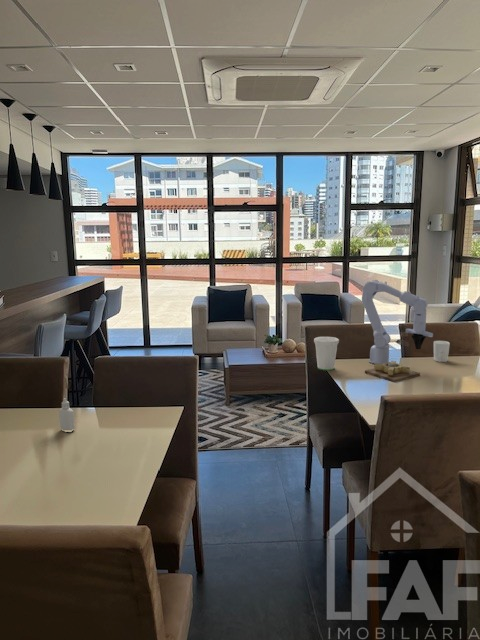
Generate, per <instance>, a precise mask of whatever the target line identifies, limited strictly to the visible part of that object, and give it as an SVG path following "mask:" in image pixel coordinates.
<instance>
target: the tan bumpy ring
mask: <svg viewBox="0 0 480 640" xmlns="http://www.w3.org/2000/svg"><path fill="white" fill-rule="evenodd" d="M390 362H391V363H390ZM388 364H396V365H397V367H389V366H388ZM374 368H375V370H382V371H383V372H386V373H388V375H392V376H393V374H398V373H402V372H403V373H409V372H410V371H411V366H410V365H403V364H401V363H397V361H396V360H395V361H394V360H391V361H389V363H383V364H381V363H375V364H374Z"/></svg>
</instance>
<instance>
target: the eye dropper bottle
mask: <svg viewBox="0 0 480 640" xmlns="http://www.w3.org/2000/svg"><path fill="white" fill-rule="evenodd" d="M58 419H59V421H58V422H59V428H61V429H63V430H72V429H75V430H76V425H75V415H74V410H73V409H72V408H70V402H69V401H68V400H67V398H66V397H64V398H63V401H62V402H61V408H60V409H59V410H58Z"/></svg>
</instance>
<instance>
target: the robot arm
mask: <svg viewBox="0 0 480 640" xmlns="http://www.w3.org/2000/svg"><path fill="white" fill-rule="evenodd" d="M384 292H385V293H387V294H389V295H391V296H394V297H396V298H398V299H399V302H401V303H402V304H406V305H407V306H410V307H413V309H414V312H413V326H412V327H413V328H405V333H406V334H411V339H412V341H413V342H414V346H415V349H416V350H421V349H422V346H423V343H424V341H425V340H426V338H427V337H428V338H433V337H434V333H433V332H430V331H426V326H427V325H426V323H427V307H428V304H429V302H428V300H427V299H426V298H425V297H421V296H420V295H415V294H413V293H411V291H410V290H408V291H406V290H404V291H401V290H399V289H397V288H396V287H395V288H394V287H393V286H391V285H389V284H387V283H385V282H383V281H379V280H377V279H373V280H371V281H367V282H365V284H364V285H363V287H362V294H361V302H362V304H363V306H364V307H363V308H364V310H365V312H366V315H367V317H368V320H369V322H370V325H371V328H372V330H373V338H374V339H373V341H374V344H373V345H372V346H371V347H370V351H369V360H368V363H371V364H374V365H375V363H381V364H383V363H389V362H390V363H391V361H390V345H389V343H390V342H391V339H392V338H391V335H390V334H389V333H388V332H387V330H386V329H385V328H384V325H383V323H382V321H381V318H380V316H379V313H378V310H377V307H376V306H375V302H374V301H373V300H374V297H375V296H376V294H377V293H384Z"/></svg>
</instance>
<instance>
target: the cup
mask: <svg viewBox="0 0 480 640" xmlns="http://www.w3.org/2000/svg"><path fill="white" fill-rule="evenodd" d="M313 343H314V345H315V357H316V363H317V369H318V370H320V371H332V370H334V369H335V365H336V357H337V350H338V345H339V343H340V339H339V338H337V337H335V336H317V337H315V338H313Z"/></svg>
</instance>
